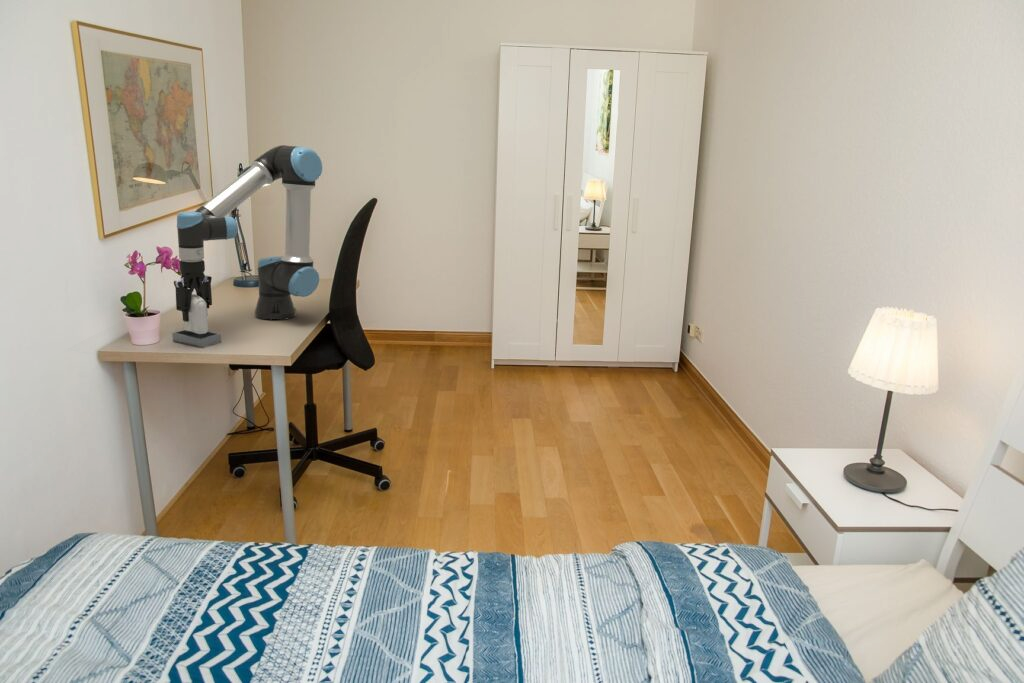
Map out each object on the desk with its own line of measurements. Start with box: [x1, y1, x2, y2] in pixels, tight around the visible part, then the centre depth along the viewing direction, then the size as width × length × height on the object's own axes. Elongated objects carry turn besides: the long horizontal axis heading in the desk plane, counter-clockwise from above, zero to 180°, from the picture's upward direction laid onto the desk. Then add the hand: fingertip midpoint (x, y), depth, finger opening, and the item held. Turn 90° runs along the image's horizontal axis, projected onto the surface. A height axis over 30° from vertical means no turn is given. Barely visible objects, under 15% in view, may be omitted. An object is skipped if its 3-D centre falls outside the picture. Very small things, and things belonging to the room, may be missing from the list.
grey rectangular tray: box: [172, 329, 222, 349], centre depth 246 cm, size 8×13×3 cm, turn 64°
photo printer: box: [183, 293, 209, 334], centre depth 244 cm, size 10×4×12 cm, turn 49°
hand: (195, 328), depth 245 cm, fingers closed on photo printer, 5 cm apart
